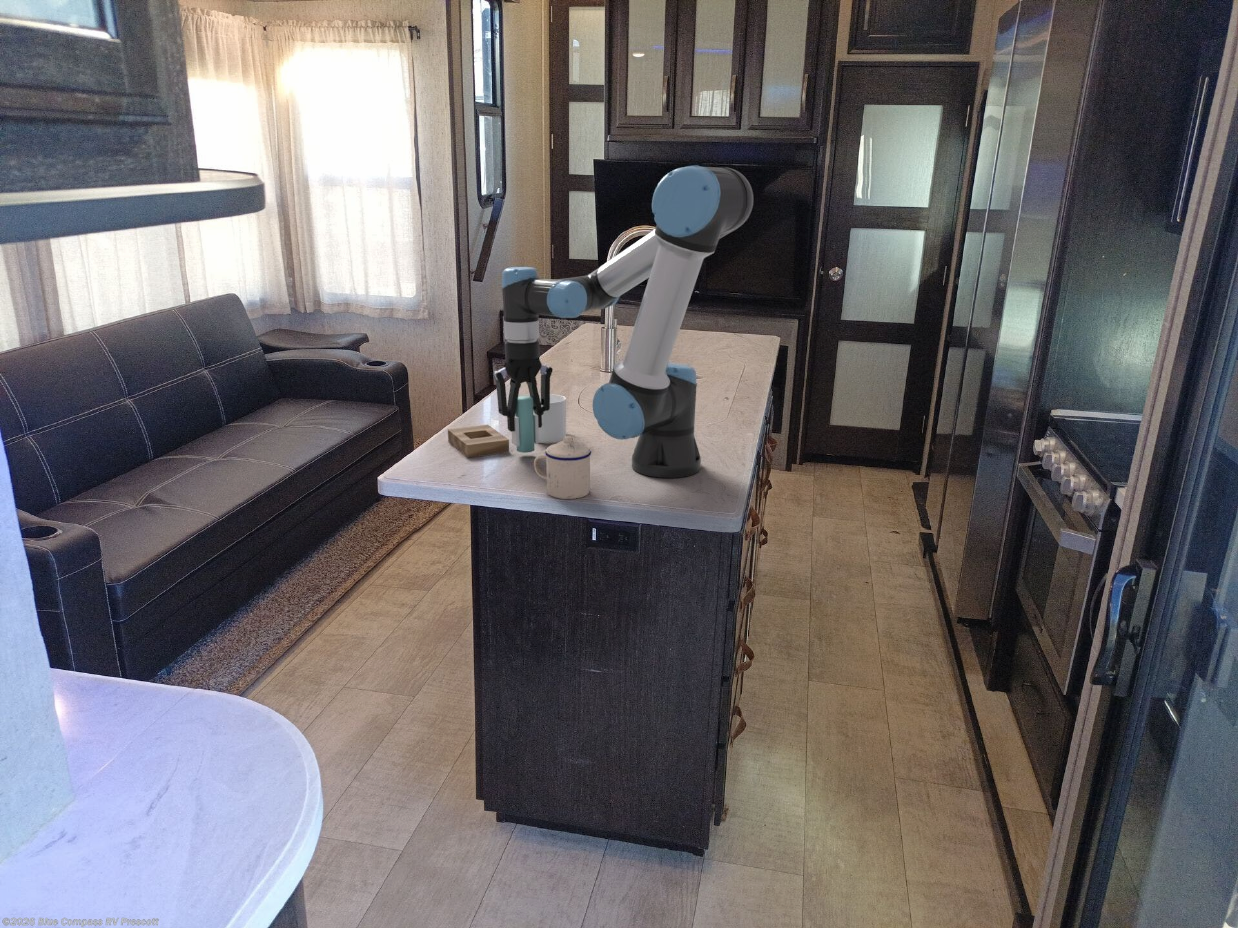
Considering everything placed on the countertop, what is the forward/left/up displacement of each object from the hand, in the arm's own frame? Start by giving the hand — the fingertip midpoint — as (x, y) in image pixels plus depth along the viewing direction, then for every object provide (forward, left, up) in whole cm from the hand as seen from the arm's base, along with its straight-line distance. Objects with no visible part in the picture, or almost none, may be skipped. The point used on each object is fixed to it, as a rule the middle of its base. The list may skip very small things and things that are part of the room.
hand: (525, 443), depth 197 cm
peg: (0, 0, -2) cm, 2 cm away
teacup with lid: (-24, +2, -3) cm, 25 cm away
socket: (+12, +7, -3) cm, 14 cm away
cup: (+12, -12, -3) cm, 17 cm away
